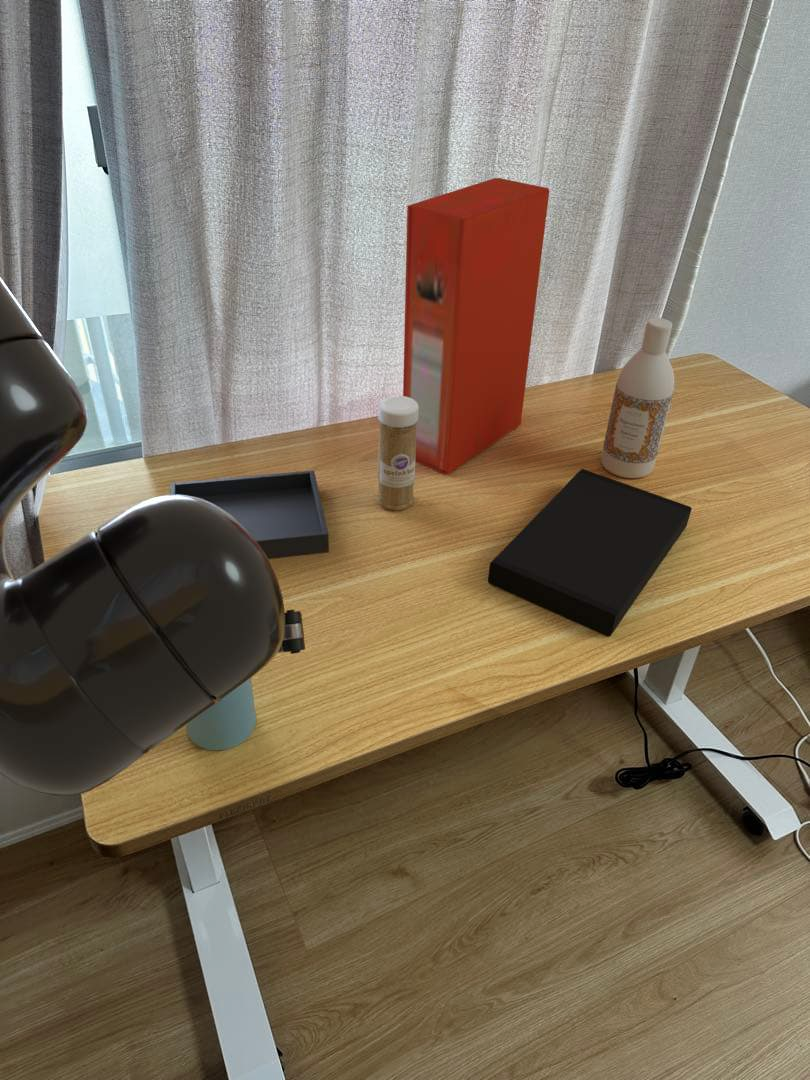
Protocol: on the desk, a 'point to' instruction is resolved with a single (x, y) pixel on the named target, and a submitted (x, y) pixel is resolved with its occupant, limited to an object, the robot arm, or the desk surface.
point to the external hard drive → (590, 550)
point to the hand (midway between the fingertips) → (202, 645)
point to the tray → (270, 509)
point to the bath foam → (640, 406)
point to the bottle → (225, 721)
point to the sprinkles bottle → (397, 451)
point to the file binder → (470, 315)
